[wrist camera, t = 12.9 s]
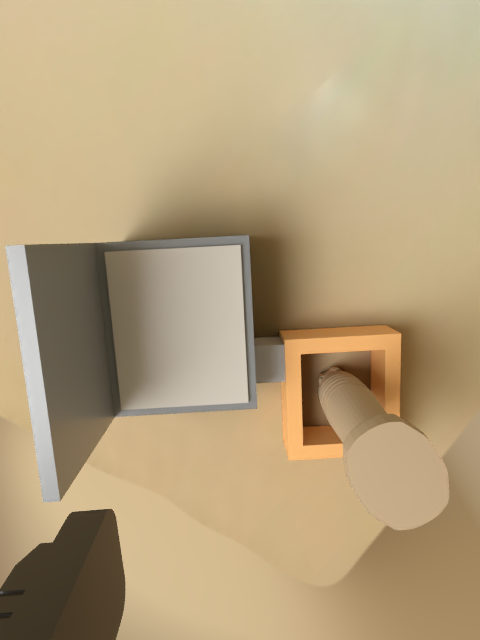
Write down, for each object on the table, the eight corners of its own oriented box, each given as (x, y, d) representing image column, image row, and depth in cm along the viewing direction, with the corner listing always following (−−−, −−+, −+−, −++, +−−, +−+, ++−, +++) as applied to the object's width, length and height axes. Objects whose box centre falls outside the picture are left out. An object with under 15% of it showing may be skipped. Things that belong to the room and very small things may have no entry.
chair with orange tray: (111, 242, 35) (5, 245, 18) (386, 228, 36) (525, 218, 19) (133, 449, 38) (59, 611, 22) (384, 434, 39) (501, 582, 22)
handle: (339, 338, 37) (410, 405, 22) (375, 398, 38) (466, 500, 23) (290, 367, 37) (329, 453, 23) (328, 426, 39) (387, 544, 24)
